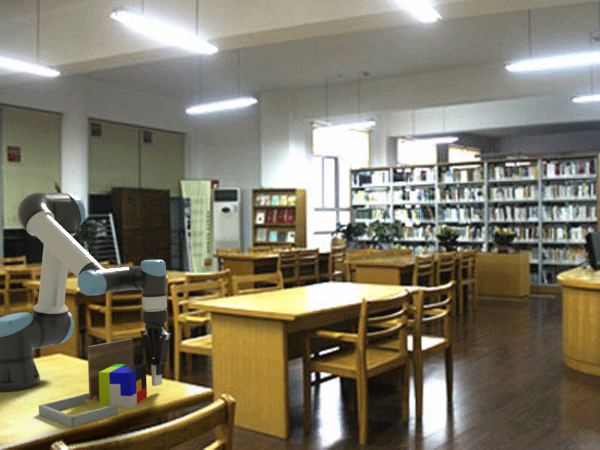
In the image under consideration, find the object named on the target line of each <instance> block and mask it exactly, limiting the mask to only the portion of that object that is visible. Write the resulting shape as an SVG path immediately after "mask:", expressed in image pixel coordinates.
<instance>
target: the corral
mask: <svg viewBox="0 0 600 450" xmlns="http://www.w3.org/2000/svg"><path fill="white" fill-rule="evenodd" d="M87 399H88V398H87V394H86V393H84V394H78V395H74V396H70V397H67V398H63V399H59V400H55V401H51V402H47V403H43V404H39V405H38V415H40V416H43V417H45V418H46V419H47V418H48V419H50V420H52V421H54V422H57V423H59V424H61V425H64V426H66V427H69V428H73V427H77V426H80V425H83V424H88V423H91V422H93V421H94V422H95V421H97V420H101V419H104V418H108V417H112V416H115V415H118V414H119V407H118V405H117V404H115V405H111V406H107V407H106V406H103V407H101V408H97V409H93V410H89V411H86V412H83V413H79V414H75V415H70V414H68V413H65V412H62V411H60V410H65V409H68V408H73V407H76V406H79V405H83V404H87V402H88V401H87Z"/></svg>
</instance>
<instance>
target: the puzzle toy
mask: <svg viewBox="0 0 600 450" xmlns="http://www.w3.org/2000/svg"><path fill="white" fill-rule="evenodd" d="M147 384H148V383H147V364H134V365H132V364H115V365H113V366H111V367H109V368H107V369H105V370H102V371H100V372H99V395H100V400H99V407H106V406H111V405H115V404H117V405H118V408H133V407H134V406H136V405H138V404H139V403H141V402H142V401H144V400H146V399H147V397H148V393H147V392H148V390H147V389H148V387H147V386H148V385H147Z"/></svg>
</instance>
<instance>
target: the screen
mask: <svg viewBox="0 0 600 450" xmlns="http://www.w3.org/2000/svg"><path fill="white" fill-rule="evenodd" d="M87 364H88V365H87V370H88V373H87V374H88V392H87V393H85V394H87V399H89V400H92V399H93V401H95V400H96V401H95V402H98V401H100V395H99V372H100V371H102V370H105V369H107V368H109V367H111V366H113V365H115V364H132V365H135V364H134V339H133V338H131V337H130V338H125V339H120V340H115V341H108V342H104V343H99V344H94V345H88V346H87ZM97 400H98V401H97Z"/></svg>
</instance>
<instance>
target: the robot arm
mask: <svg viewBox="0 0 600 450" xmlns="http://www.w3.org/2000/svg"><path fill="white" fill-rule="evenodd" d="M17 218H18V221H19V223H20V225H21V226H22V228H23V229H24V230H25V232H27V233H28V234H29V235H30V236H32V237H36V238H37V239H39V241H40V242H41V243H42V244H43V249H42V259H41V260H42V261H41V271H40V278H39V279H40V280H39V292H38V301H37V303H36V304H35V305H34V306H32V312H31V313H30V312H27V311H25V312H23V311H22V312H16V313H11V314H8V315H3V316H1V317H0V392H14V391H20V390H26V389H30V388H33V387H35V386H38V385H39V384H40V383H41V376H40V372H39V370H38V368H37V365H36V362H35V359H34V350H37V349H43V348H48V347H51V346H52V347H54V346H58V345H60V344H63V343H65V342H67V341H68V340H69V339H70V338H71V337H72V335H73V333H74V328H75V321H74V319H73V315H72V314H71V312H69V307H68V306H67V305H66V304H65V301H66V291H67V281H68V272H69V271H70V272H71V273H72V274H73V275H74V276H75V277H76V278H77V287H78V288H79V292H80V293H81V294H82V295H85V296H101V295H104V294H109V293H110V294H111V293H117V292H118V293H119V292H124V291H130V290H131V291H132V290H133V291H134V290H135V291H136V290H137V291H141V308H142V309H143V311H142V322H143V323H144V324H145V326H144V329H142V330H140V335H141V338H142V342H143V349H144V355H145V361H146V362H149V365H150V373H151V386H153V387H158V386H160V385H163V364H165V363H167V361H168V352H169V345H170V339H171V337H172V333H170V332H169V333H168V332H167V331H166V325H165V323H166V322H167V321H168V310H167V307H168V304H167V301H168V299H167V295H168V294H167V276H168V275H167V268H166V261H165V260H164V259H144V260H142V261H141V262H140V265H138V266H137V265H118V266H115V267H108V268H106V267H104V266H103V265H102V264H101V263H99V262H98V261H97V260H96V259H95V258H94V256H92V255H91V254H90V253H89V252H88V251H87V250H86V249H85V248H84V247H83V246H82V245H81V244H80V243H79V242H78V241H77V240H76V239H75V238H74V236H75V235H76V234H77V228H78V227H80V226H81V225H83V223H84V222H85V220H86V207H85V204H84V202H82V199H80V197H79V196H77V195H76V194H73V193H68V192H67V193H66V192H34V193H30V194H28V195H27V196H25V197H24V198H23V199H22V200H21V201H20V203H19V206H18V208H17Z"/></svg>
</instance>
